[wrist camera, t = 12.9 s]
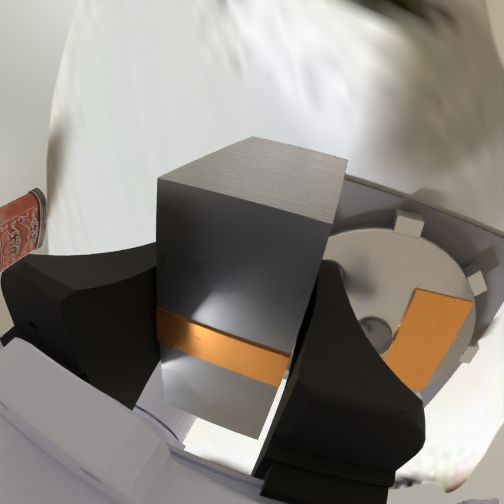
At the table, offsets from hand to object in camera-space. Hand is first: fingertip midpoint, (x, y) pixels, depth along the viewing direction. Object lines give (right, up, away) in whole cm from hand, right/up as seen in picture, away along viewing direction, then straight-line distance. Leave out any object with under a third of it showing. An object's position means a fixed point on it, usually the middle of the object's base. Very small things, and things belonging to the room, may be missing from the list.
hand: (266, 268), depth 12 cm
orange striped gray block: (0, +1, +1) cm, 2 cm away
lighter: (-24, +4, +18) cm, 30 cm away
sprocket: (+8, -4, +10) cm, 14 cm away
